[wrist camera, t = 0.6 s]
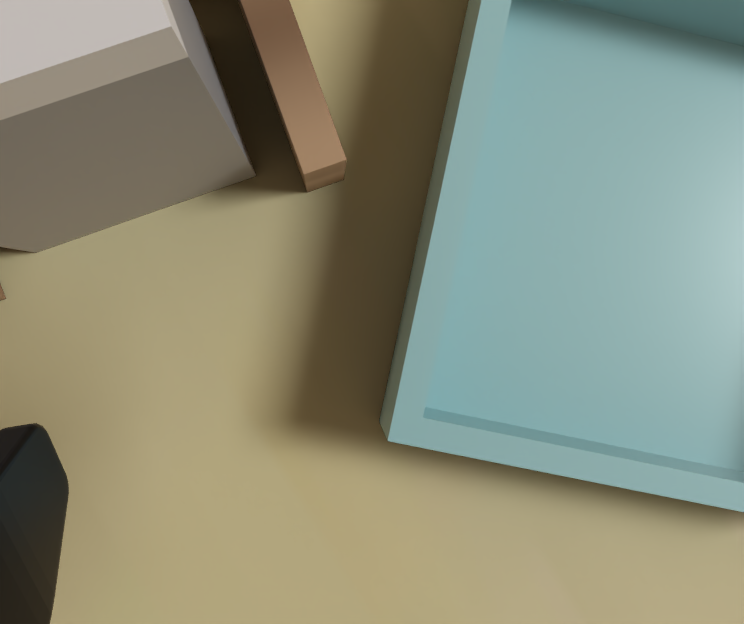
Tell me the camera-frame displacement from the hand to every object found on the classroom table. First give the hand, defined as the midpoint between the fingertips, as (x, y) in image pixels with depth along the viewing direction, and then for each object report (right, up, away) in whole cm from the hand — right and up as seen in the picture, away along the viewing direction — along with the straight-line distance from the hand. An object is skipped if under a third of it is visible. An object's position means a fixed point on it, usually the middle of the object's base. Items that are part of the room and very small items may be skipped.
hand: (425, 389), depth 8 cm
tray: (+8, +3, +13) cm, 16 cm away
